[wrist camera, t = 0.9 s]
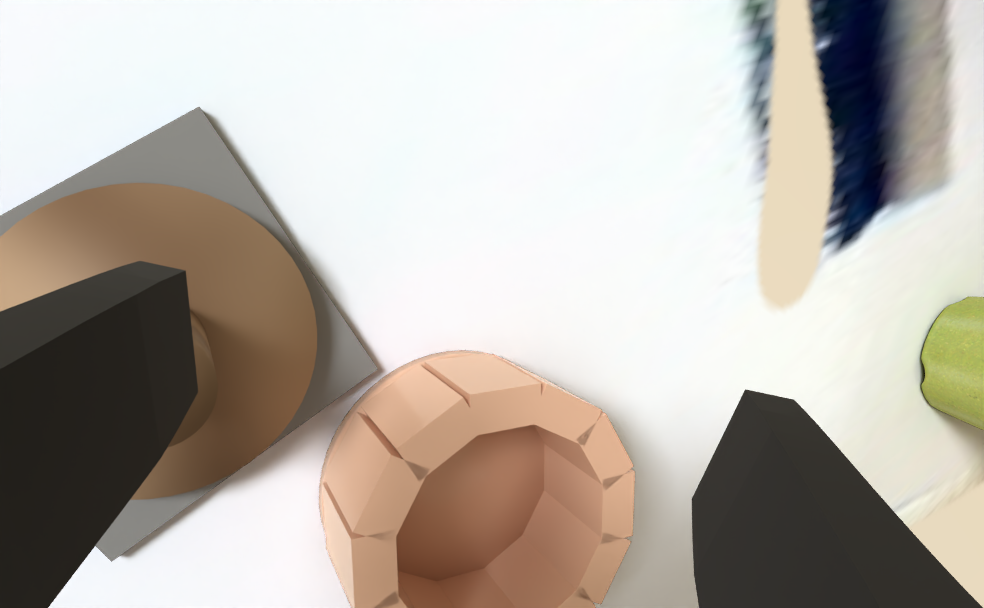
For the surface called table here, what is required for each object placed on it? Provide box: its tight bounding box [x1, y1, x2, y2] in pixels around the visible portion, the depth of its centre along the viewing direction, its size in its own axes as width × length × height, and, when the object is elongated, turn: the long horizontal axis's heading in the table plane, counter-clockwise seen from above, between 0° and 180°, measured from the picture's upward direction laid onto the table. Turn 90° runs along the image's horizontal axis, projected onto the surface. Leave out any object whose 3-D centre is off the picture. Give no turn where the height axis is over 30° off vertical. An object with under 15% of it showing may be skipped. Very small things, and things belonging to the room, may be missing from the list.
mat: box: [0, 107, 378, 562], centre depth 18 cm, size 9×9×1 cm
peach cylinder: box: [319, 350, 635, 608], centre depth 21 cm, size 9×9×4 cm
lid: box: [0, 183, 317, 500], centre depth 16 cm, size 8×8×5 cm
